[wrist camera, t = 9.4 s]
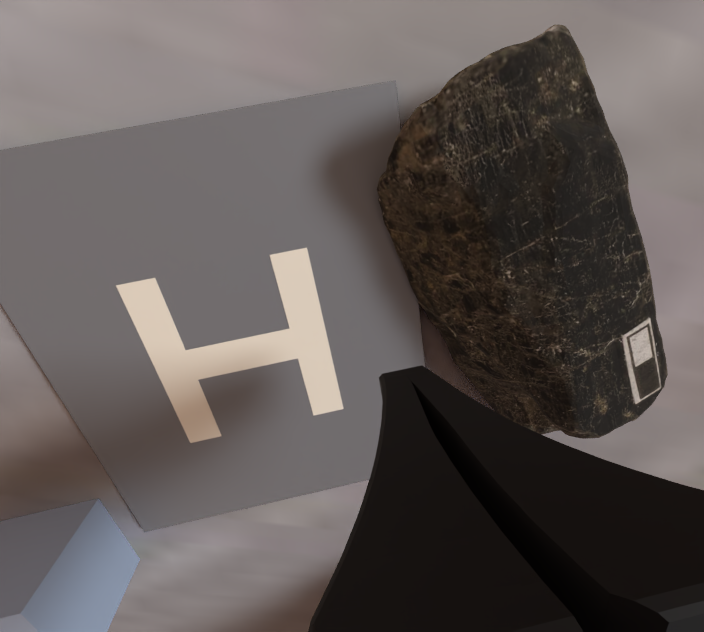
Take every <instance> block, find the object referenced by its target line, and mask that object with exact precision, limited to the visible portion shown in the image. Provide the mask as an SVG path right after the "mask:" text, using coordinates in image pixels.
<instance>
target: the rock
mask: <svg viewBox="0 0 704 632" xmlns="http://www.w3.org/2000/svg"><path fill="white" fill-rule="evenodd" d="M377 192H378V196H379V198H378V201H379V204H380V207H381V210H382V215H383V220H384V224H385V226H386V228H387V230H388V232H389V234H390V236H391V238H392V241H393V243H394V246H395V249H396V252H397V254H398V256H399V258H400V260H401V263H402V265H403V268H404V270H405V273H406V275H407V278H408V281H409V284H410V286H411V288H412V290H413V292H414V294H415V296H416V298H417V300H418V302H419V304H420V305H421V307H422V308H423V309H424V310H425V311H426V313H427V316H428V318H429V319H430V320H431V321H432V322H433V323H434V325H435V326H436V327H437V328H438V329H439V331H440V333H441V334H442V336H443V338H444V340H445V342H446V343H447V345H448V348H449V350H450V353H451V355H452V358H453V360H454V362H455V363H456V364H457V365H458V367H459V368H460V369H461V370H462V371H463V372H464V373H465V374H466V376H467V377H468V379H469V380H470V381H471V382H472V383H473V385H474V386H475V387H476V388H477V390H478V391H479V392H480V393H481V394H482V396H483V397H484V398H485V399H486V400H487V402H488V403H489V404H490V405H491V407H492V408H493V409H494V410H495V412H496V413H498V414H500V415H502V416H504V417H505V418H507V419H509V420H511V421H513V422H515V423H517V424H519V425H521V426H524V427H526V428H528V429H530V430H532V431H534V432H537V433H539V434H545V433H549V432H553V431H558V430H561V431H563V432H564V433H565V434H567V435H569V436H573V437H578V438H599V437H601V436H603V435H606V434H608V433H610V432H611V431H613V430H614V429H616V428H618V427H620V426H622V425H624V424H626V423H628V422H630V421H634V420H636V419H637V418H638V417H639V416H640V415H641V414H642V413H643V412H644V411H645V410H646V409H647V408H649V407H650V406H651V405H652V403H653V402H654V401H655V399H656V397H657V396H658V394H659V393H660V392H661V390H662V389H663V387H664V385H665V379H666V377H667V375H668V374H667V365H666V358H665V353H664V349H663V343H662V337H661V334H660V332H659V328H658V324H657V321H656V308H655V301H654V294H653V287H652V280H651V274H650V269H649V264H648V260H647V256H646V252H645V248H644V244H643V240H642V237H641V233H640V230H639V227H638V224H637V221H636V218H635V215H634V212H633V209H632V204H631V199H630V194H629V189H628V174H627V171H626V168H625V165H624V162H623V158H622V156H621V153H620V151H619V148H618V146H617V143H616V141H615V140H614V138H613V136H612V134H611V132H610V130H609V127H608V125H607V122H606V119H605V116H604V113H603V110H602V108H601V106H600V104H599V102H598V99H597V96H596V92H595V88H594V86H593V84H592V81H591V79H590V77H589V75H588V73H587V69H586V65H585V62H584V58H583V57H582V55H581V53H580V51H579V49H578V47H577V45H576V43H575V41H574V40H573V38H572V36H571V34H570V32H569V30H568V29H567V28H566V27H565V26H563V25H553V26H552V27H550V28H549V29H547V30H546V31H545V32H544V33H543V34H541V35H539V36H537V37H536V38H534V39H532V40H530V41H527V42H524V43H521V44H516V45H512V46H508V47H505V48H502V49H500V50H498V51H496V52H493V53H491V54H489V55H488V56H486V57H485V58H483V59H482V60H480V61H479V62H477V63H475V64H473V65H470V66H468V67H467V68H465V69H464V70H462V71H461V72H459V73H458V74H456V75H455V76H454V77H453V78H451V79H450V80H449V81H448V82H447V84H446V85H445V86H444V88H443V89H442V90H441V92H440V93H438V94H437V95H436V96H435V97H433V98H432V99H430V100H428V101H426V102H424V103H423V104H421V105H420V106H419V107H418V108H417V109H416V110H415V111H414V112H413V114H412V115H411V117H410V118H409V119H408V120H407V121H406V122H405V124H404V126H403V128H402V129H401V131H400V133H399V134H398V136H397V137H396V139H395V142H394V145H393V148H392V150H391V152H390V155H389V157H388V161H387V168H386V171H385V172H384V173H383V174H382V175H381V177H380V178H379V182H378V185H377Z"/></svg>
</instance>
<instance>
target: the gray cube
mask: <svg viewBox="0 0 704 632" xmlns="http://www.w3.org/2000/svg"><path fill="white" fill-rule="evenodd" d="M139 560H140V558H139V557H138V556H137V554H136V553H135V551H134V550H133V548H132V547H131V545H130V544H129V542H128V541H127V539H126V538H125V536H124V535H123V534H122V532H121V531H120V529H119V528H118V526H117V525H116V523H115V522H114V520H113V519H112V517H111V516H110V514H109V513H108V512H107V510H106V509H105V507H104V506H103V504H102V503H101V501H100V500H99V498H98V499H94V500H89V501H85V502H81V503H76V504H72V505H68V506H63V507H59V508H55V509H51V510H46V511H42V512H38V513H33V514H29V515H25V516H20V517H16V518H12V519H8V520H3V521H0V632H107V630H108V628H109V626H110V624H111V622H112V619H113V617H114V615H115V613H116V611H117V608H118V606H119V604H120V602H121V600H122V597H123V595H124V593H125V591H126V589H127V587H128V584H129V582H130V580H131V578H132V576H133V573H134V571H135V569H136V567H137V565H138V562H139Z"/></svg>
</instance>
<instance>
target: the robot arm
mask: <svg viewBox="0 0 704 632" xmlns="http://www.w3.org/2000/svg"><path fill="white" fill-rule="evenodd" d="M379 382H380V388H381V395H382V401H383V403H382V419H381V427H380V434H379V440H378V446H377V451H376V456H375V460H374V464H373V468H372V472H371V476H370V479H369V483H368V486H367V489H366V493H365V496H364V499H363V502H362V505H361V508H360V511H359V514H358V516H357V519H356V521H355V524H354V526H353V529H352V532H351V534H350V537H349V539H348V542H347V544H346V547H345V549H344V552H343V554H342V556H341V559H340V561H339V563H338V565H337V568H336V570H335V572H334V574H333V576H332V578H331V580H330V582H329V584H328V586H327V588H326V591H325V593H324V595H323V597H322V599H321V601H320V603H319V605H318V607H317V609H316V611H315V613H314V615H313V618H312V620H311V622H310V627H309V631H308V632H704V490H700V489H696V488H693V487H689V486H685V485H681V484H678V483H675V482H671V481H668V480H665V479H662V478H658V477H655V476H652V475H649V474H646V473H642V472H639V471H636V470H633V469H630V468H627V467H624V466H621V465H618V464H615V463H612V462H609V461H606V460H603V459H601V458H598V457H595V456H593V455H590V454H588V453H585V452H582V451H580V450H577V449H574V448H572V447H569V446H567V445H564V444H562V443H559V442H557V441H555V440H552V439H550V438H547V437H545V436H543V435H541V434H539V433H537V432H534V431H532V430H530V429H528V428H526V427H524V426H521V425H519V424H517V423H515V422H513V421H511V420H509V419H507V418H505V417H504V416H502V415H500V414H498V413H496V412H495V411H493V410H491V409H489V408H487V407H485V406H484V405H482V404H480V403H479V402H477V401H475V400H474V399H472V398H470V397H469V396H467V395H465V394H464V393H462V392H461V391H459V390H458V389H456V388H455V387H453V386H452V385H450V384H449V383H447V382H446V381H444V380H443V379H441V378H440V377H438V376H437V375H435V374H434V373H433V372H431V371H430V370H428V369H427V368H425V367H424V366H422V365H421V366H416V367H411V368H407V369H402V370H397V371H393V372H388V373H383V374H381V376H380V377H379Z"/></svg>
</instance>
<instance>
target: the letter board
mask: <svg viewBox="0 0 704 632" xmlns="http://www.w3.org/2000/svg"><path fill="white" fill-rule="evenodd" d="M400 131H401V128H400V118H399V109H398V99H397V89H396V80H395V81H389V82H383V83H378V84H372V85H366V86H361V87H355V88H349V89H344V90H338V91H332V92H327V93H321V94H315V95H310V96H304V97H298V98H293V99H287V100H281V101H276V102H270V103H264V104H259V105H253V106H247V107H242V108H236V109H230V110H225V111H219V112H213V113H208V114H202V115H196V116H191V117H185V118H179V119H174V120H168V121H163V122H157V123H151V124H146V125H140V126H134V127H129V128H123V129H117V130H112V131H106V132H100V133H95V134H89V135H83V136H78V137H72V138H66V139H61V140H55V141H49V142H44V143H38V144H32V145H27V146H21V147H15V148H10V149H4V150H0V304H1V305H2V307H3V308H4V310H5V311H6V313H7V315H8V316H9V318H10V319H11V321H12V323H13V324H14V326H15V327H16V329H17V331H18V332H19V334H20V335H21V337H22V338H23V340H24V342H25V343H26V345H27V346H28V348H29V350H30V351H31V353H32V354H33V356H34V358H35V359H36V361H37V362H38V364H39V365H40V367H41V369H42V370H43V372H44V373H45V375H46V377H47V378H48V380H49V381H50V383H51V385H52V386H53V388H54V389H55V391H56V392H57V394H58V396H59V397H60V399H61V400H62V402H63V404H64V405H65V407H66V408H67V410H68V412H69V413H70V415H71V416H72V418H73V419H74V421H75V423H76V424H77V426H78V427H79V429H80V431H81V432H82V434H83V435H84V437H85V439H86V440H87V442H88V443H89V445H90V446H91V448H92V450H93V451H94V453H95V454H96V456H97V458H98V459H99V461H100V462H101V464H102V466H103V467H104V469H105V470H106V472H107V473H108V475H109V477H110V478H111V480H112V481H113V483H114V485H115V486H116V488H117V489H118V491H119V492H120V494H121V496H122V497H123V499H124V500H125V502H126V504H127V505H128V507H129V508H130V510H131V512H132V513H133V515H134V516H135V518H136V519H137V521H138V523H139V524H140V526H141V527H142V529H143V531H144V532H147V531H151V530H156V529H160V528H164V527H169V526H173V525H177V524H181V523H186V522H190V521H194V520H198V519H203V518H207V517H211V516H216V515H220V514H224V513H228V512H233V511H237V510H241V509H246V508H250V507H254V506H258V505H263V504H267V503H271V502H275V501H280V500H284V499H288V498H293V497H297V496H301V495H305V494H310V493H314V492H318V491H323V490H327V489H331V488H335V487H340V486H344V485H348V484H352V483H357V482H361V481H365V480H369V479H370V476H371V472H372V468H373V464H374V460H375V456H376V451H377V446H378V440H379V434H380V427H381V419H382V403H383V401H382V395H381V388H380V382H379V377H380V376H381V374H383V373H388V372H393V371H397V370H402V369H407V368H411V367H416V366H421V365H422V366H424V367H425V362H424V352H423V342H422V332H421V323H420V313H419V303H418V300H417V298H416V296H415V294H414V292H413V290H412V288H411V286H410V284H409V281H408V278H407V275H406V273H405V270H404V268H403V265H402V263H401V260H400V258H399V256H398V254H397V252H396V249H395V246H394V243H393V241H392V238H391V236H390V234H389V232H388V230H387V228H386V226H385V224H384V220H383V215H382V210H381V207H380V204H379V201H378V198H379V196H378V192H377V185H378V182H379V178H380V177H381V175H382V174H383V173H384V172H385V171H386V168H387V161H388V157H389V155H390V152H391V150H392V148H393V145H394V142H395V139H396V137H397V136H398V134H399V133H400Z"/></svg>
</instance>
